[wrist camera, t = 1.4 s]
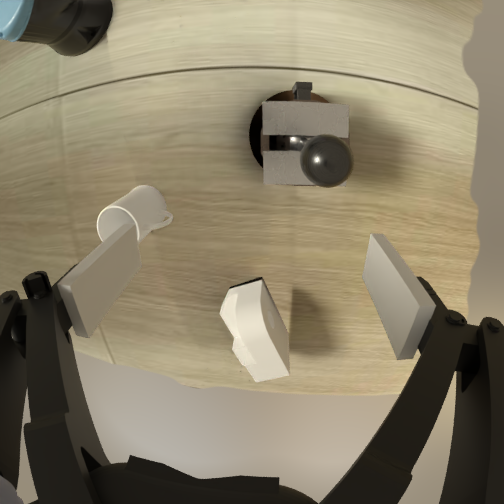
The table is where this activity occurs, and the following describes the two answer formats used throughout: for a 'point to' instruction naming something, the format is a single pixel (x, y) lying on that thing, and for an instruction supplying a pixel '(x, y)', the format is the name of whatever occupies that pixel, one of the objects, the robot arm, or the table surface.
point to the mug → (135, 213)
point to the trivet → (258, 122)
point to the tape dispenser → (257, 330)
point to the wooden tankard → (297, 132)
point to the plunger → (320, 157)
